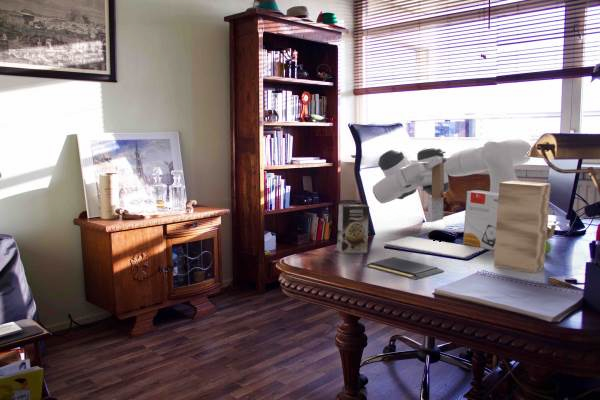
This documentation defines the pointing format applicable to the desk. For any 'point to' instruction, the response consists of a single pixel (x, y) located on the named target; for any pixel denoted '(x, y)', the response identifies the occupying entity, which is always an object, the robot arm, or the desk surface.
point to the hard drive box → (481, 219)
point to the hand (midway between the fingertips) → (443, 159)
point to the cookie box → (353, 228)
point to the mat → (435, 247)
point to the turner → (436, 193)
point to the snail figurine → (549, 235)
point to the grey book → (404, 268)
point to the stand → (522, 225)
